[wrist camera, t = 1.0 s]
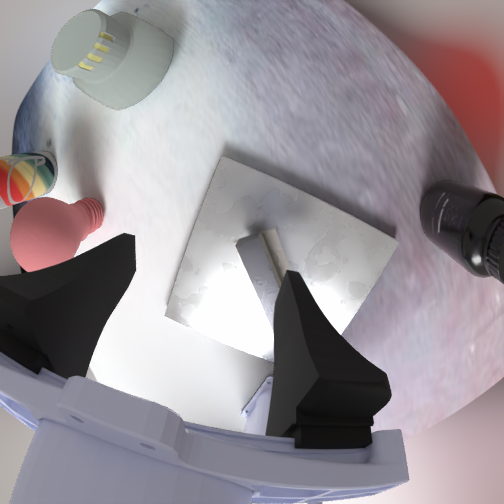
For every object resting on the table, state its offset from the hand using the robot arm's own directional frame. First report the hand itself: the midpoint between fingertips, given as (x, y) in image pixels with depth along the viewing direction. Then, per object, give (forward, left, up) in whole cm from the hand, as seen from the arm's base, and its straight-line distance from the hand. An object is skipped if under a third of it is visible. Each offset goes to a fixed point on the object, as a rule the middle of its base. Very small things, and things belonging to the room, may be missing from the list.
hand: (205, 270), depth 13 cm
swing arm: (-7, -7, -11) cm, 15 cm away
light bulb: (-7, +16, -14) cm, 23 cm away
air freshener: (+10, +17, -14) cm, 24 cm away
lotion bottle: (-5, +26, -14) cm, 30 cm away
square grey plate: (-5, -5, -14) cm, 16 cm away
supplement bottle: (+9, -18, -14) cm, 25 cm away
